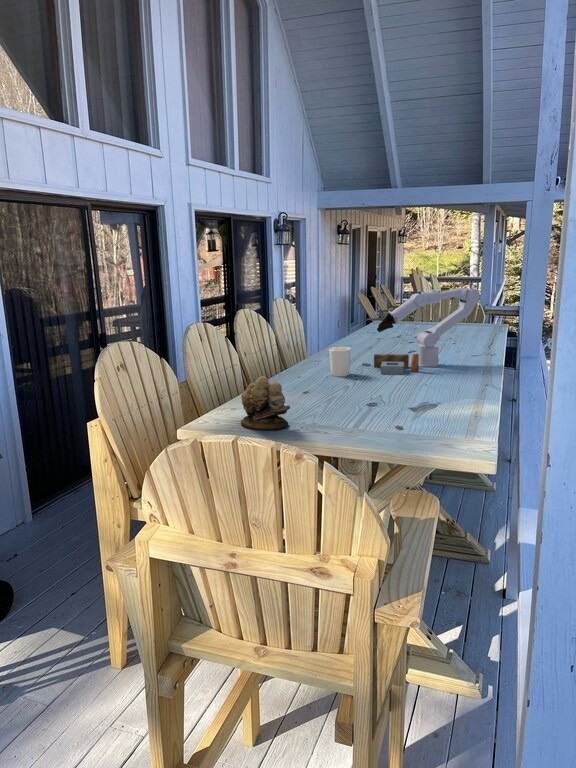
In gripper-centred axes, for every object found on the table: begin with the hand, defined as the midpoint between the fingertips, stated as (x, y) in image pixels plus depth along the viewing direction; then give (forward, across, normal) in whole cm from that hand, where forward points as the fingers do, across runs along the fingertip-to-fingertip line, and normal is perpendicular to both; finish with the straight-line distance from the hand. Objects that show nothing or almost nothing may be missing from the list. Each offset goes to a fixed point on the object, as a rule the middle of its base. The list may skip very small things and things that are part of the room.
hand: (378, 329), depth 252 cm
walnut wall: (+4, -10, +17) cm, 20 cm away
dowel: (-1, +1, +26) cm, 26 cm away
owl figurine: (+63, +69, +11) cm, 94 cm away
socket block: (+7, -1, +20) cm, 21 cm away
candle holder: (+27, +3, +7) cm, 28 cm away
